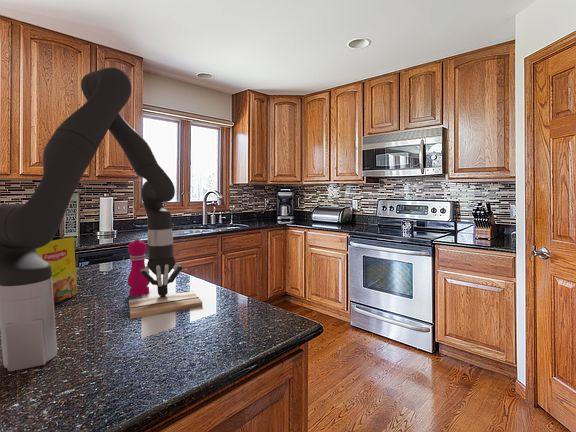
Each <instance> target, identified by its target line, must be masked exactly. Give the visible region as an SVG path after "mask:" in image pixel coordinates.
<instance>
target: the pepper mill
mask: <svg viewBox="0 0 576 432" xmlns="http://www.w3.org/2000/svg"><path fill="white" fill-rule="evenodd" d="M140 239H141V238H140V236H137V235H135V236H134V237H133V241H131V242H130V243H129V244H128V245H127V251H128V253H129V254H130V255H129V260H130V262H131V266H130V267H131V268H130V271H129V274H128V277H127V281H126V282H127V285H128V287H130V288H129V296H132V297H139V296H140V297H141V296H145V295H147V294H149V293H150V287H149V284H151V283H150V282H149V281H148V280H147V279H146V278H145V277H144V276H143V275H142V274H141V269H144V268H145V267H146V263H145V260H146V258H147V257H146V254H145V253H146V251H148V245H147V244H146V242H144V241H143V240H140Z"/></svg>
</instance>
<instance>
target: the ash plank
mask: <svg viewBox="0 0 576 432" xmlns="http://www.w3.org/2000/svg"><path fill="white" fill-rule="evenodd" d="M194 297H198V295H197V294H196V293H195V292H194V291H193V290H191V291H184V292H183V291H182V292H179V293H178V292H176V293H170V294H169V293H168V294H167V295H166V297H160V296H159V295H157V296H156V295H155V296H149V297H142V298H136V299H129V300H128V306H129V307H136V306H142V305H148V304H155V303H161V302H168V301H174V300H181V299H187V298H194Z"/></svg>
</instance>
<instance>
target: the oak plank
mask: <svg viewBox="0 0 576 432" xmlns="http://www.w3.org/2000/svg"><path fill="white" fill-rule="evenodd" d="M202 307H203V300H201V298H200V296H197V297H194V298H187V299H181V300H174V301H168V302H161V303H155V304H148V305H142V306H136V307H129V317H130V319H131V320H132V319H138V318H144V317H149V316H154V315H161V314H167V313H174V312H179V311H185V310H190V309H191V310H192V309H197V308H202Z"/></svg>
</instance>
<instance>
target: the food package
mask: <svg viewBox="0 0 576 432" xmlns="http://www.w3.org/2000/svg"><path fill="white" fill-rule="evenodd" d="M75 249H76V248H75V237H74V236H73V237H66V238H62V239H61V238H60V239H55V240H51V241H50V242H49V243H48V244H47V245H45V246H43V247H40V248H36V252H37V253H38V255H39V256H40V257H41V258H42V259H43V260H45V261H46V262H48V263H49V264H50V265H51V268H52V282H53V298H54V304H55V303H58V302H61V301H63V300H65V299H68V298H71V297H73V296H76V295H78V285H77V284H78V283H77V282H78V279H77V267H76V250H75Z"/></svg>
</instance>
